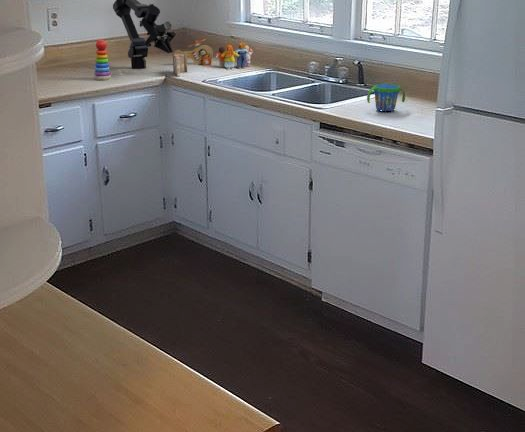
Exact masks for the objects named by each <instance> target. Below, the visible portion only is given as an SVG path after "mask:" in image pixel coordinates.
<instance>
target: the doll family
mask: <svg viewBox="0 0 525 432" xmlns="http://www.w3.org/2000/svg"><path fill="white" fill-rule="evenodd" d="M237 44H238V45H237V46H238V49H236V50H234V48H233V46H232V45H231V44H227V45H226V47H223V46H220V47H219V48H218V53H216V56H215V59H218V58H219V60H218V62H219V68H221V69H222V68H223V69H225V70H227V71H232V70H234V69H235V68H234V67H235V62H236V68H237V69H245V68H250V67H251V65H250V64H251V56H252V54H253V53H254V52H253V49H252V48H250V47H249V45H246V42H239V43H237ZM235 57H237V59H235ZM236 60H237V61H236Z"/></svg>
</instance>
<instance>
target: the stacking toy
mask: <svg viewBox="0 0 525 432" xmlns="http://www.w3.org/2000/svg"><path fill="white" fill-rule="evenodd" d="M107 46H108V44H107V42H106V41H105V40H103V39H98V40H97V41H96V42H95V47H96V49H97V50H96V52H95V53H96V54H95V64H94V66H95V67H94V72H93V73H94V77H93V79H95V80H96V81H108V80H110V79H111V78H112V76H111V71H110V66H109V65H110V63H109V59H108V51H107V50H106V49H107Z"/></svg>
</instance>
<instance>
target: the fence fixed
mask: <svg viewBox="0 0 525 432" xmlns="http://www.w3.org/2000/svg"><path fill="white" fill-rule="evenodd" d="M177 55H178V56H179V57H180V73H188V58H187V53H183V54H177Z"/></svg>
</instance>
